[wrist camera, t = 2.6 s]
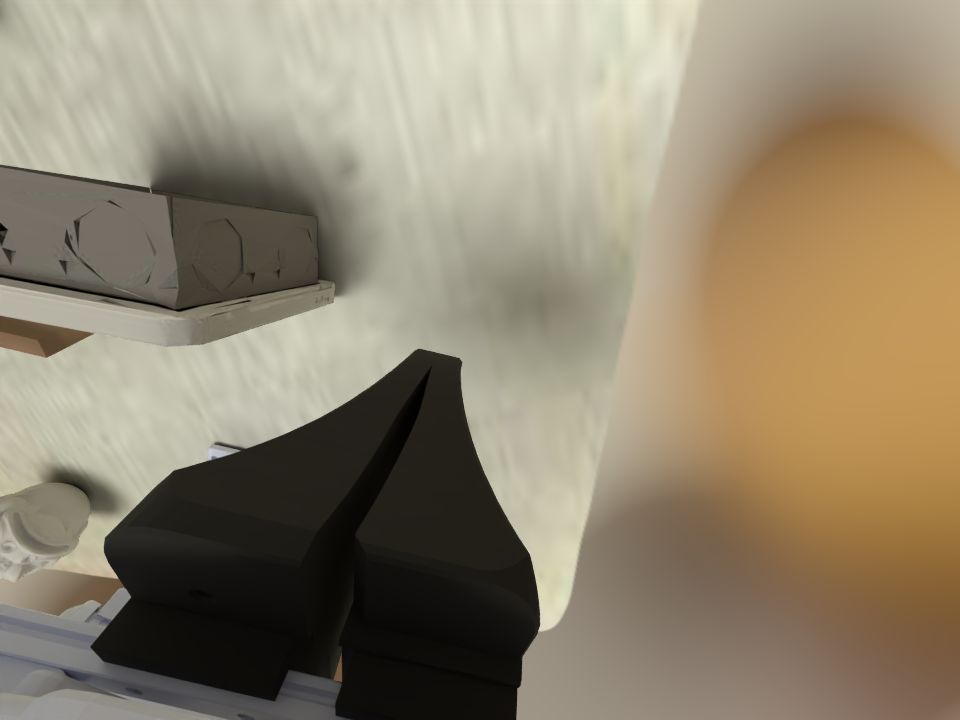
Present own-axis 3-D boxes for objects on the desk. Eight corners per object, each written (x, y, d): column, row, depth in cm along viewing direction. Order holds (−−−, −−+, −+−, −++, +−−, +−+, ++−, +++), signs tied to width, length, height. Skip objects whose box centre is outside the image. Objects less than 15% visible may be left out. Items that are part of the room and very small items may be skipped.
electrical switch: (159, 265, 19) (-114, 345, 11) (130, 148, 17) (-248, 138, 9) (343, 298, 19) (204, 405, 11) (341, 184, 17) (158, 210, 8)
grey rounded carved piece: (135, 506, 32) (46, 595, 26) (84, 518, 34) (-9, 603, 28) (71, 455, 29) (-46, 543, 23) (19, 472, 31) (-100, 556, 25)
